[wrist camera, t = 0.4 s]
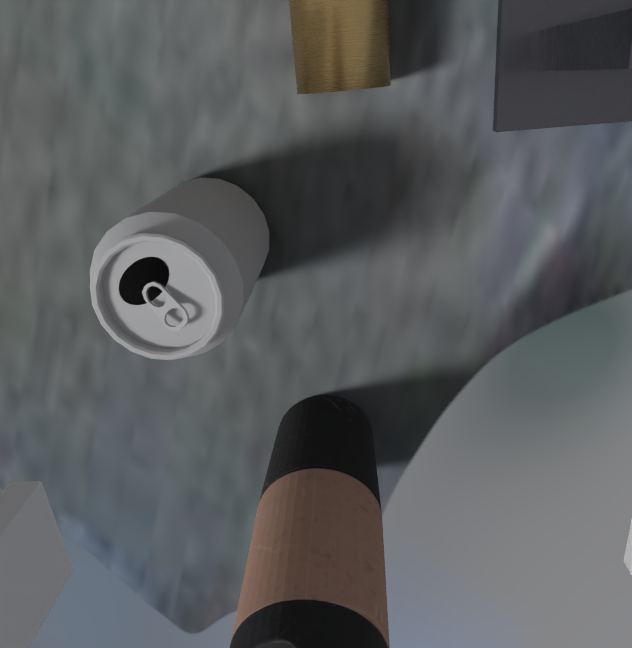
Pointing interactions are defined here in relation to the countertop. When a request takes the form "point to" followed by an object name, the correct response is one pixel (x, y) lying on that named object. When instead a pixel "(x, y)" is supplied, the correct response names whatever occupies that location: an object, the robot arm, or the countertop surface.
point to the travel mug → (317, 537)
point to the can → (180, 269)
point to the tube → (340, 44)
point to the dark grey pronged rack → (562, 63)
